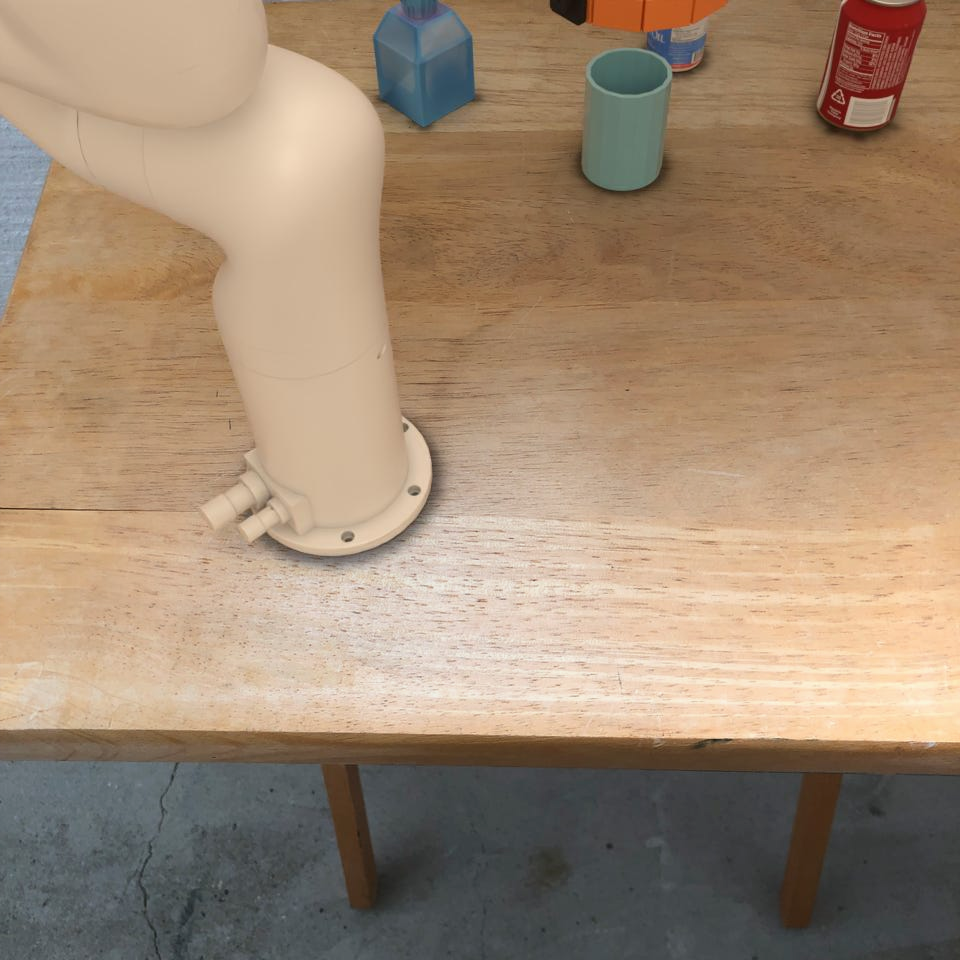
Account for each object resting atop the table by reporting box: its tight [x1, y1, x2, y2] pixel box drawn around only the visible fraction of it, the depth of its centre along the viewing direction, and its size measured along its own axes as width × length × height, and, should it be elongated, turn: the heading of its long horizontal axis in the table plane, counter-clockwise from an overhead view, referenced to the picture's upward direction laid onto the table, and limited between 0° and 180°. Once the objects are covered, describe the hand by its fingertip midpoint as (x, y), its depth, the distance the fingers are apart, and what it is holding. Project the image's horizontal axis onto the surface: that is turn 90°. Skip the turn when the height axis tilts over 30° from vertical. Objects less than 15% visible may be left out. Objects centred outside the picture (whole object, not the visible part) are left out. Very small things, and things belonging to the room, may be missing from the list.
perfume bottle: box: [372, 0, 476, 128], centre depth 96 cm, size 6×6×12 cm
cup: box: [580, 47, 673, 192], centre depth 91 cm, size 7×7×9 cm
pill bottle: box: [645, 15, 710, 73], centre depth 100 cm, size 6×5×10 cm
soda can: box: [816, 0, 928, 132], centre depth 93 cm, size 7×7×12 cm
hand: (583, 6), depth 78 cm, fingers closed
